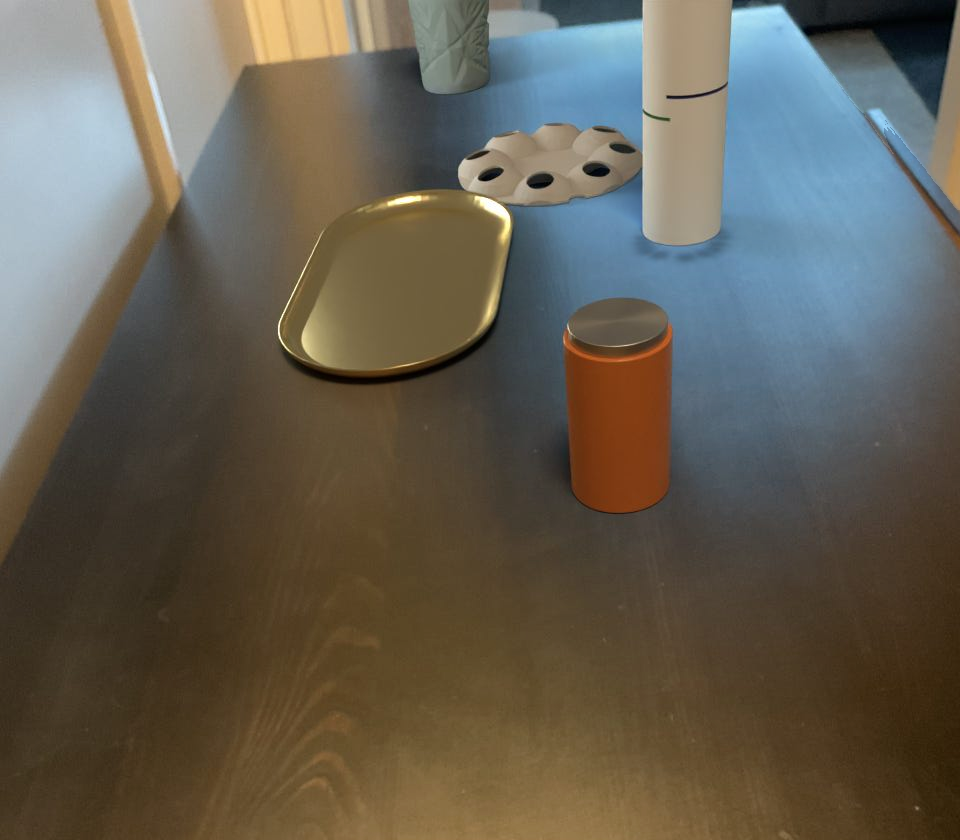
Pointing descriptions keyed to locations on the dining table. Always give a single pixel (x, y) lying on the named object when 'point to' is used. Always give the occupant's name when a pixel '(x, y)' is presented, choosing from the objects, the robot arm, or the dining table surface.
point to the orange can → (619, 403)
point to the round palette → (551, 164)
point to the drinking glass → (452, 44)
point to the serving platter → (400, 284)
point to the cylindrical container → (684, 118)
